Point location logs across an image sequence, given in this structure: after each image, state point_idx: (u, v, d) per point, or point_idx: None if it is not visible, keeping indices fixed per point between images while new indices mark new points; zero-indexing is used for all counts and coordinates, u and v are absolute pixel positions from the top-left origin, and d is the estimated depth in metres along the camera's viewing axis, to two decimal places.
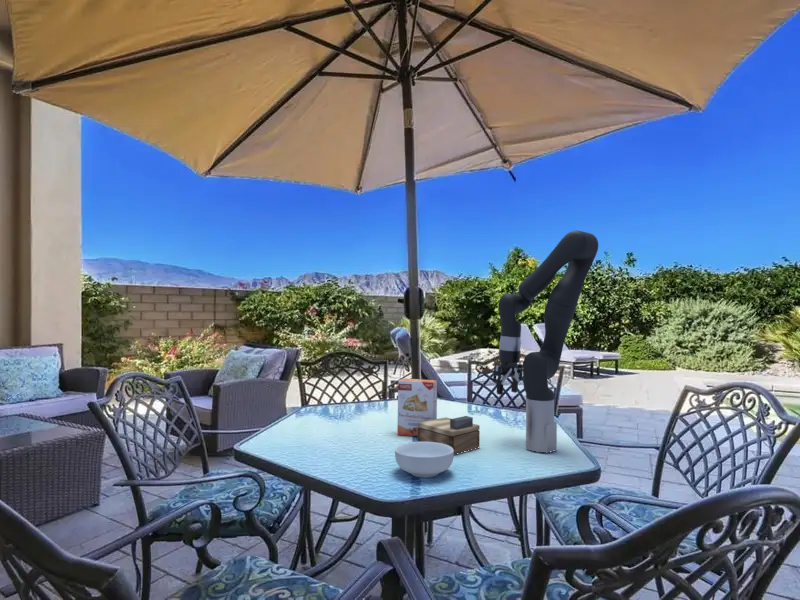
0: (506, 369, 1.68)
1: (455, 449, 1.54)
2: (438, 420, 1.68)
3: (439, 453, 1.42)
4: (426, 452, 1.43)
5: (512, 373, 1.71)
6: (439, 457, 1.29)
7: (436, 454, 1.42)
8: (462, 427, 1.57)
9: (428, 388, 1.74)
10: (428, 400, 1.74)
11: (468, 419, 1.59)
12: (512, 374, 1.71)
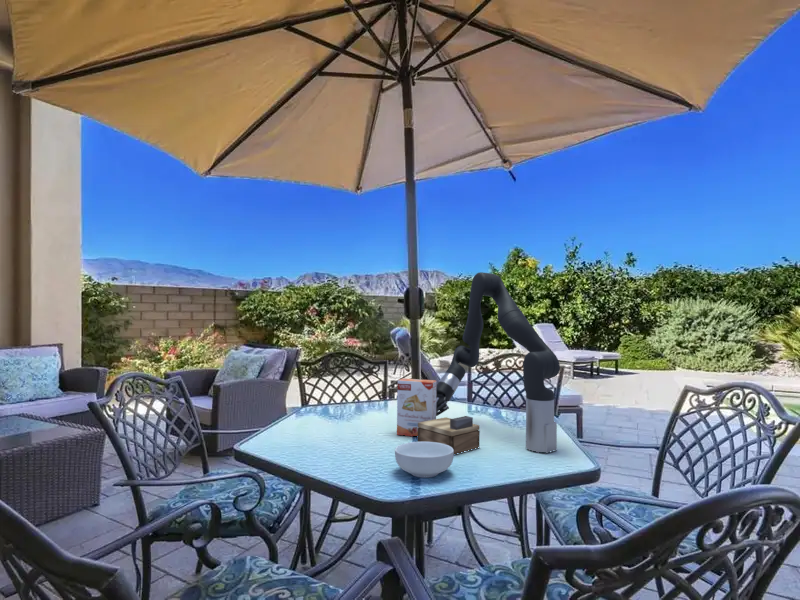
0: None
1: (455, 449, 1.54)
2: (438, 420, 1.68)
3: (439, 452, 1.42)
4: (426, 452, 1.43)
5: None
6: (438, 457, 1.29)
7: (436, 454, 1.42)
8: (462, 427, 1.57)
9: (427, 388, 1.74)
10: (427, 400, 1.74)
11: (468, 419, 1.59)
12: None
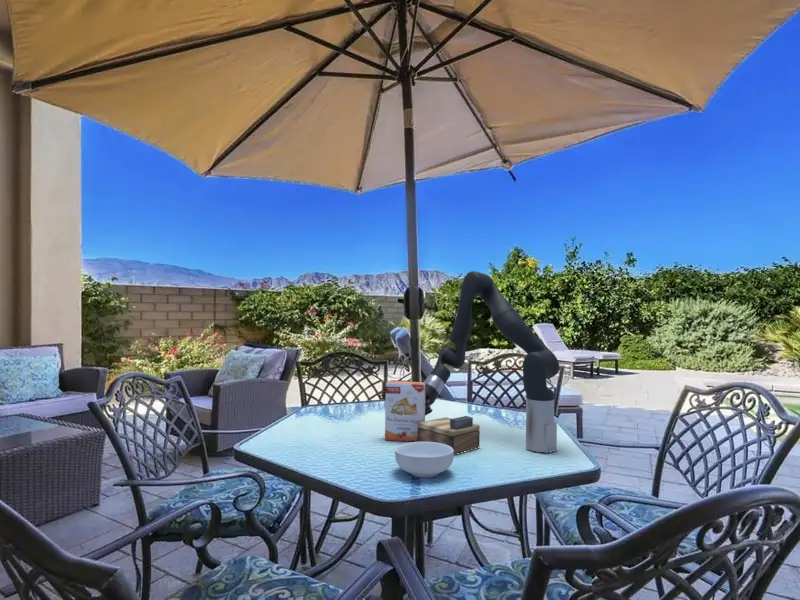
0: None
1: (455, 449, 1.54)
2: (438, 420, 1.68)
3: (439, 453, 1.42)
4: (426, 452, 1.43)
5: None
6: (438, 457, 1.29)
7: (436, 454, 1.42)
8: (462, 427, 1.57)
9: (418, 390, 1.68)
10: (418, 403, 1.68)
11: (468, 419, 1.59)
12: None
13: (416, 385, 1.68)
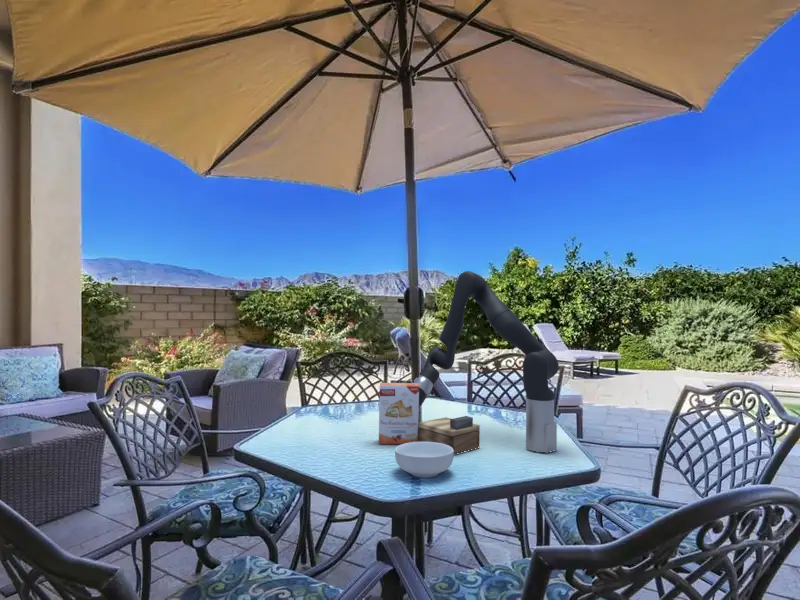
0: None
1: (455, 449, 1.54)
2: (438, 420, 1.68)
3: (439, 453, 1.42)
4: (426, 452, 1.43)
5: None
6: (438, 457, 1.29)
7: (436, 454, 1.42)
8: (462, 427, 1.57)
9: (413, 392, 1.64)
10: (413, 405, 1.64)
11: (468, 419, 1.59)
12: None
13: (411, 387, 1.64)
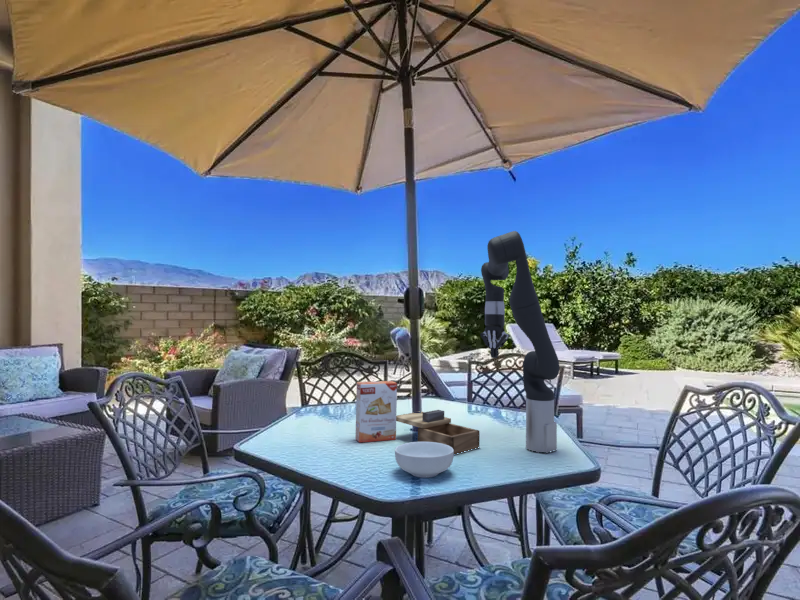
0: (487, 334, 1.85)
1: (455, 449, 1.54)
2: (413, 414, 1.78)
3: (439, 453, 1.42)
4: (426, 452, 1.43)
5: (492, 334, 1.83)
6: (438, 457, 1.29)
7: (436, 454, 1.42)
8: (434, 420, 1.67)
9: (392, 389, 1.71)
10: (392, 401, 1.70)
11: (440, 412, 1.69)
12: (492, 335, 1.83)
13: (390, 384, 1.70)
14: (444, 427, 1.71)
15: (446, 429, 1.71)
